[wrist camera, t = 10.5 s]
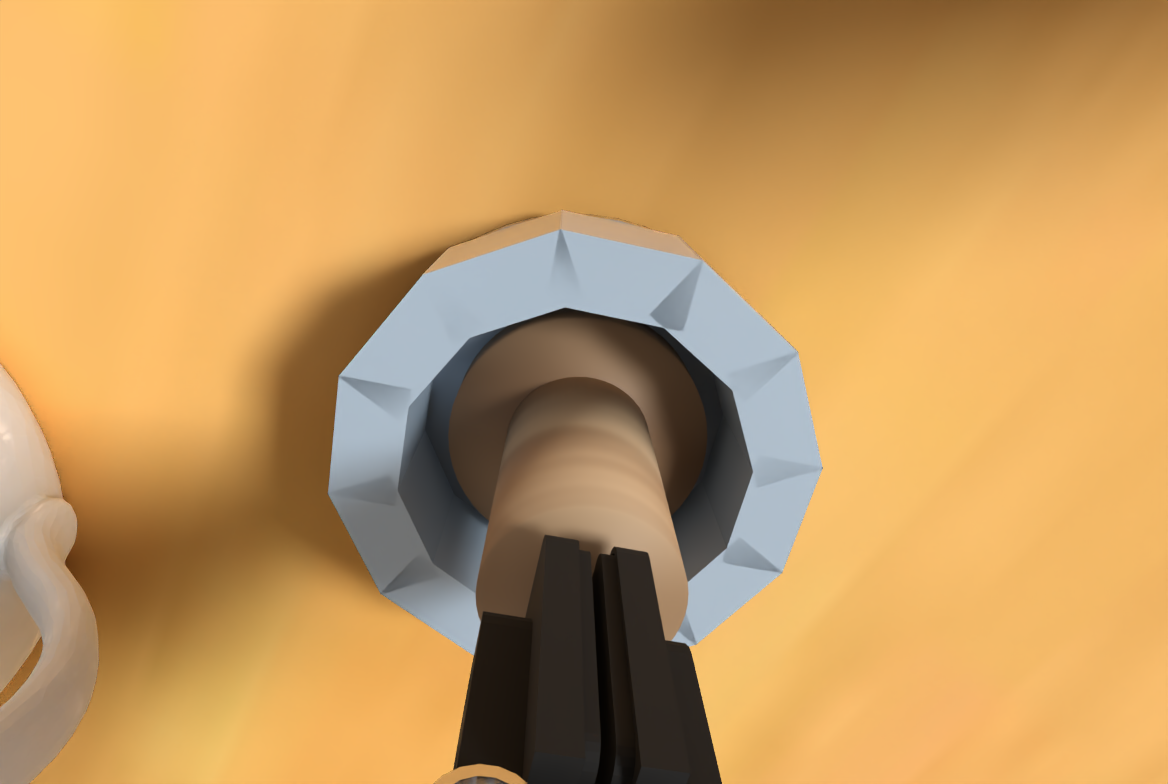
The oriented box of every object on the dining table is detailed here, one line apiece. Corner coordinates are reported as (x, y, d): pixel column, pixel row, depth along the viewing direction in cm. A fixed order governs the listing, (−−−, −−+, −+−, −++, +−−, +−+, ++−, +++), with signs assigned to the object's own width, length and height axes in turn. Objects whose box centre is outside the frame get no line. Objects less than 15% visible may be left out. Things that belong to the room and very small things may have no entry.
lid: (664, 545, 20) (712, 763, 13) (440, 506, 19) (369, 714, 12) (728, 334, 17) (829, 466, 11) (476, 281, 17) (413, 387, 10)
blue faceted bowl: (705, 596, 21) (734, 696, 18) (361, 538, 20) (314, 631, 17) (820, 263, 18) (887, 300, 14) (404, 170, 16) (355, 184, 13)
